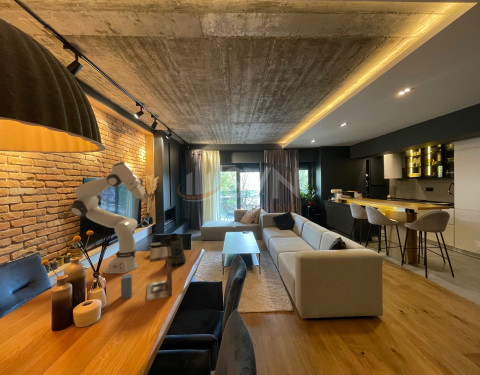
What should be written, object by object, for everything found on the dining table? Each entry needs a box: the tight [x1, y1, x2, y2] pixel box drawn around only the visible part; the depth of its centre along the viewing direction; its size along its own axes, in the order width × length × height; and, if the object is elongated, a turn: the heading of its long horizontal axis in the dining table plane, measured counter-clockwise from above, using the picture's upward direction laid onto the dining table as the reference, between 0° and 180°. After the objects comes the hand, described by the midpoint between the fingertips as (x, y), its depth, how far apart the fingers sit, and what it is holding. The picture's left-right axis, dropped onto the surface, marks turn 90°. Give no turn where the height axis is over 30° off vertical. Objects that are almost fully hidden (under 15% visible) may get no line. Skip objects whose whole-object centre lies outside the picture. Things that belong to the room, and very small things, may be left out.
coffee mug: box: [147, 242, 162, 251], centre depth 193 cm, size 12×9×10 cm
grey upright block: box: [120, 273, 133, 300], centre depth 120 cm, size 5×5×12 cm
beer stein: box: [161, 232, 187, 268], centre depth 169 cm, size 16×19×25 cm
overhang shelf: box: [145, 246, 173, 302], centre depth 127 cm, size 14×20×24 cm
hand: (146, 200), depth 140 cm, fingers open, 8 cm apart
